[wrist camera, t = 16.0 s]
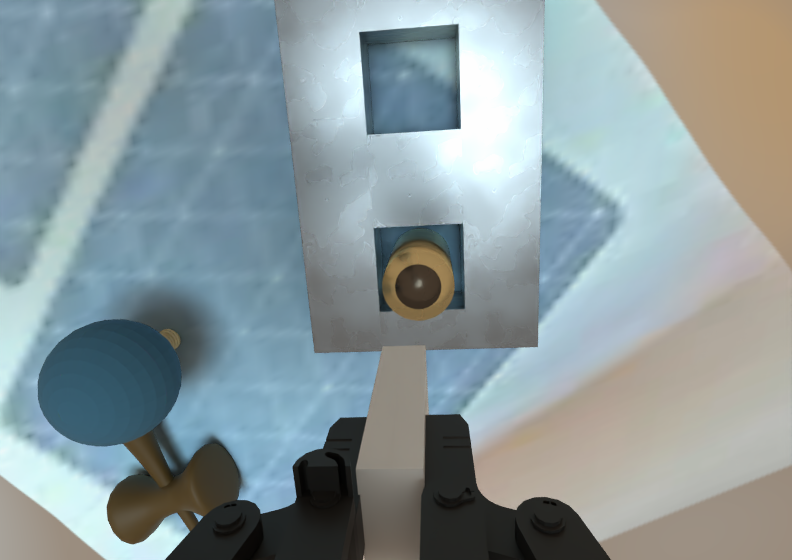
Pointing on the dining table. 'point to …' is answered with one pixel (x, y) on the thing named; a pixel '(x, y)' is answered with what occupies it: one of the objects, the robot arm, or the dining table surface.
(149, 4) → the dining table surface
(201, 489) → the kendama
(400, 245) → the bushing
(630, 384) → the dining table surface
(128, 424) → the light bulb
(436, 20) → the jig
